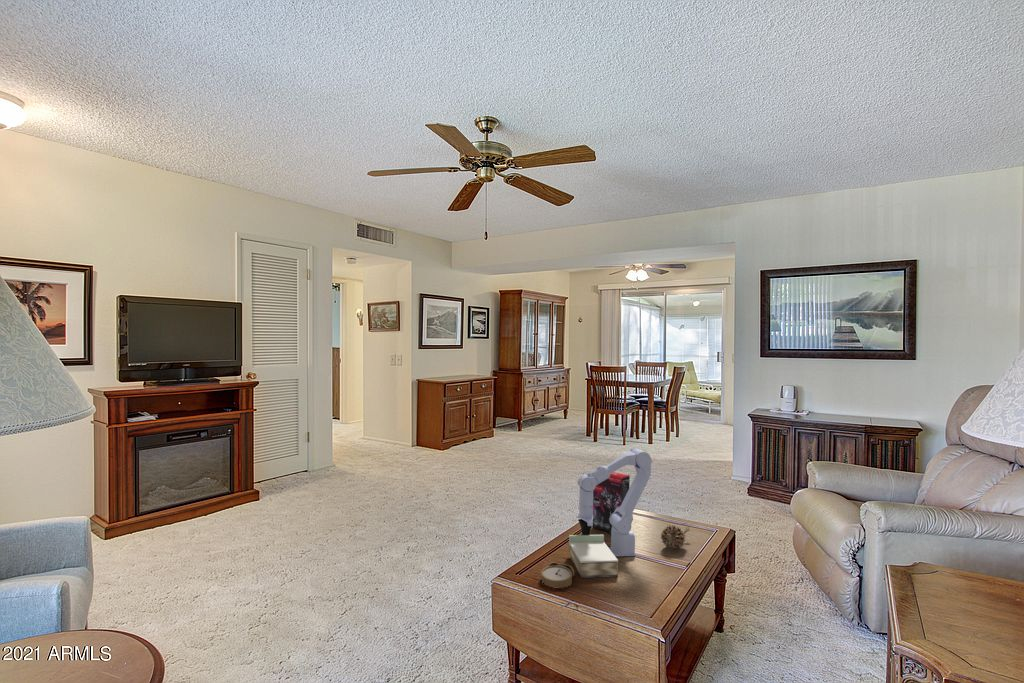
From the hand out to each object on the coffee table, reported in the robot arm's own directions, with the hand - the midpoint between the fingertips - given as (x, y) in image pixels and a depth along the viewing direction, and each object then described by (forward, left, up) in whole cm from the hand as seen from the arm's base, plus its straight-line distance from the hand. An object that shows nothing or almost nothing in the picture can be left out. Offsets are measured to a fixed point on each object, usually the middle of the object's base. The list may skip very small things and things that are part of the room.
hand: (585, 537), depth 211 cm
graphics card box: (-19, -26, -7) cm, 33 cm away
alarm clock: (+16, +22, -7) cm, 28 cm away
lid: (0, +11, -4) cm, 12 cm away
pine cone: (-43, -7, -7) cm, 44 cm away
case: (0, +12, -7) cm, 14 cm away
